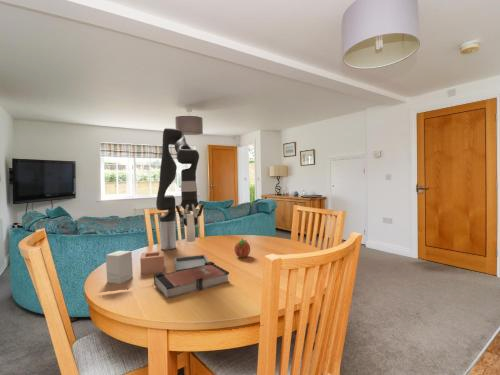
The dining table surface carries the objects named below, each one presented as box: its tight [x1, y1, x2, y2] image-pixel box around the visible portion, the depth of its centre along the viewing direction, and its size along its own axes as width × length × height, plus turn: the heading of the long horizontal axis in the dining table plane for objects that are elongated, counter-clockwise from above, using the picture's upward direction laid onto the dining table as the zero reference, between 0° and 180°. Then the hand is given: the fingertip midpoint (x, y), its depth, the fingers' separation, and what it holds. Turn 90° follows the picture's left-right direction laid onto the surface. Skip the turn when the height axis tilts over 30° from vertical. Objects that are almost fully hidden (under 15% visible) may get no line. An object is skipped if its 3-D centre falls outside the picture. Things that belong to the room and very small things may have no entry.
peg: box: [185, 213, 196, 243], centre depth 134 cm, size 4×4×13 cm
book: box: [153, 261, 230, 300], centre depth 113 cm, size 26×18×5 cm
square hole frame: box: [139, 250, 165, 275], centre depth 129 cm, size 10×10×8 cm
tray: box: [173, 254, 210, 271], centre depth 135 cm, size 20×16×2 cm
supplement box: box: [105, 250, 134, 285], centre depth 116 cm, size 7×7×13 cm
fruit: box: [234, 238, 251, 259], centre depth 149 cm, size 9×10×10 cm
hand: (190, 225), depth 134 cm, fingers closed on peg, 4 cm apart
